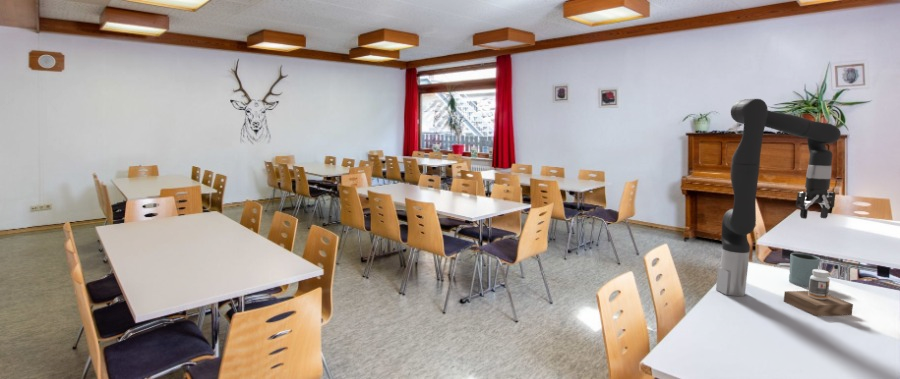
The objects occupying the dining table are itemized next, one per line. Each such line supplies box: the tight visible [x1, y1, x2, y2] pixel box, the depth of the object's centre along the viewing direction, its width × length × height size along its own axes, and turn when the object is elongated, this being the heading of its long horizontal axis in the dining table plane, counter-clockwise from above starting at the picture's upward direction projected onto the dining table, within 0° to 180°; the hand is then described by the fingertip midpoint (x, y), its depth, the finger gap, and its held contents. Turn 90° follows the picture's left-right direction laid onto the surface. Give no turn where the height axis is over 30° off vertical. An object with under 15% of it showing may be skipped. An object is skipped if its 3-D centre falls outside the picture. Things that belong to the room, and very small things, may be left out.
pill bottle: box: [807, 268, 830, 300], centre depth 174 cm, size 6×6×10 cm
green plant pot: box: [788, 252, 821, 288], centre depth 202 cm, size 10×10×12 cm
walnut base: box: [783, 290, 854, 317], centre depth 175 cm, size 14×14×4 cm
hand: (813, 218), depth 188 cm, fingers open, 8 cm apart
